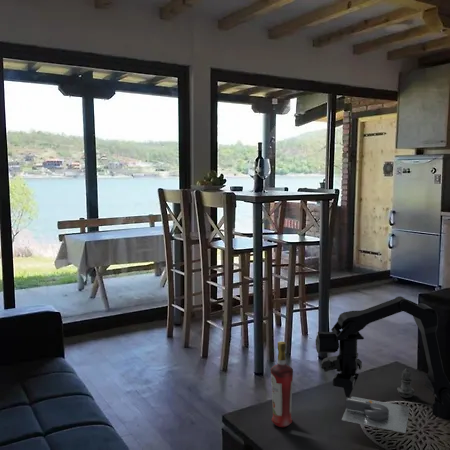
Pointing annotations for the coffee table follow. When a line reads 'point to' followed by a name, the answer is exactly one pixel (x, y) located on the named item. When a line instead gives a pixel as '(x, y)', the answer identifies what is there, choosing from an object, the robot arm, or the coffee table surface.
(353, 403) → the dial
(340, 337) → the robot arm
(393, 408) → the panel
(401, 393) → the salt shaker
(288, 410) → the liquor
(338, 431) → the coffee table surface
